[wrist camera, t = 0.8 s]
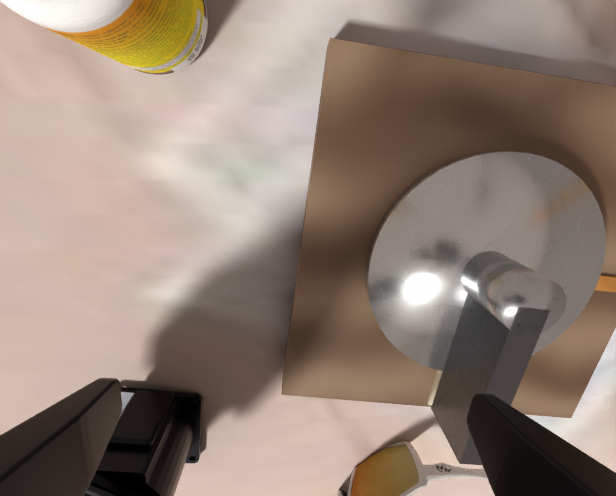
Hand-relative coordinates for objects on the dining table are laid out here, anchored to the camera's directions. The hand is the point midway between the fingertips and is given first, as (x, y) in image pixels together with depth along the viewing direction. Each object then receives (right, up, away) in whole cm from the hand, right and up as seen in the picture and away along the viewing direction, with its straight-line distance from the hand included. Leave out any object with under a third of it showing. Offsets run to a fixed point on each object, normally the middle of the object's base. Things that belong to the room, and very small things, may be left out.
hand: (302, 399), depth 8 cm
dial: (+10, +1, +12) cm, 16 cm away
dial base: (+11, +3, +13) cm, 17 cm away
